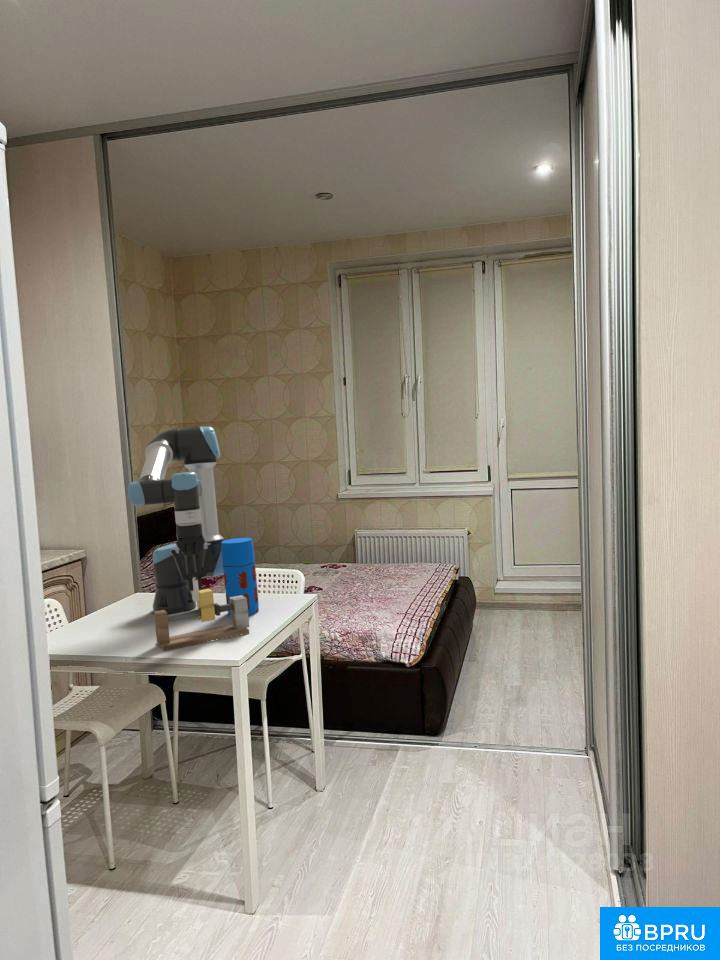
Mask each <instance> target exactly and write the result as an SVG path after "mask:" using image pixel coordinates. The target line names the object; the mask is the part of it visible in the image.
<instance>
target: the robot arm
mask: <svg viewBox="0 0 720 960" xmlns="http://www.w3.org/2000/svg"><path fill="white" fill-rule="evenodd" d="M144 456H145V460H144V465H143V467H142V471H141V472H140V477H139V480H136V481H132V482H130V483H128V487H127V494H128V500H129V503H130V505H131V506H135V507H136V506H142V507H144V506H152V505H160V504H171V503H172V504H174V505H173V506H174V517H175V518H174V519H175V524H176V527H175V528H176V543H171V544H167V545H164V546H160V547H158V548H156V549H154V551H153V553H152V564H153V572H154V573H153V574H154V581H155V582H154V583H155V594H154V599H153V603H152V612H153V613H154V612H155V611H161V610H165V611H166V612H167V615H171V614H176V613H181V612H187V611H192V610H194V609H195V608H197V601H200V598H199V590H202V587H203V586H202V578H209V577H210V578H211V577H212V578H215V577H218V576H224V571H223V561H222V550H221V542H222V541H225V539H224V537H223V536H222V535H221V534H220V532H219V522H218V521H219V520H218V510H217V498H216V489H215V488H216V487H215V486H216V485H215V477H214V467H215V466H216V465H217V463H218V462H217V461H218V460H217V459H219V458H221V451H220V446H219V441H218V437H217V434H216V432H215V429H214V428H213V427H212V426H196V427H192V426H191V427H183V428H170V429H167V430H164V431H162V432H161V433H159V434H157V435H155V436H154V437H153V438H152V439H151V440H150V441H149V442H148V443H147V446H146V448H145V451H144ZM181 461H182V462H183V466H184V467H185V468H186V469H187V470H188V471H187V472H184V471H183V472H177V473H173V474H172V475H171V478H165V477H166V474H167V469H168V467H169V464H171V463H172V462H181Z"/></svg>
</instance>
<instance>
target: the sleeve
mask: <svg viewBox="0 0 720 960" xmlns="http://www.w3.org/2000/svg"><path fill="white" fill-rule="evenodd" d="M199 598H200V601H197V602H196V607H197V610H198V609H201V616H199V617H198V620H201V623H205V622H212V621H215V620H216V615H215V609H214V604H215V602H214V600H215V599H214V590H211V589H210V588H205V589H199Z"/></svg>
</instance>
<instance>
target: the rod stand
mask: <svg viewBox="0 0 720 960" xmlns="http://www.w3.org/2000/svg"><path fill="white" fill-rule="evenodd" d="M214 609H215V616H217V617H219V616H221V613H225V612H228V611H231V616H230V617H231V624H227V625H222V626H217V627H211V628H207V629H202V630H197V631H191V632H185V633H181V634H175V635H172V636H170V627H169V623H173V622H176V621H183V620H188V619H193V618H194V619H195V618H199V616H201V609H198V608H197V609H191V610H188V611H185V612H180V613H173V614H167V612H166V611H165V610H161V611H155V612H153V615H154V625H155V633H156V634H155V635H156V644H157V645H158V646H159V647H160V648H161V650H163V651H171V650H175V649H174V648H176V649H179V648H178V647H181V648H184V647H183V646H185V647H190V646H194V645H193V644H195V645H198V643H200V644H204V643H203V642H205V643H208V642H207V641H210V642H212V641H211V640H215V641H217V640H216V639H219V640H223V639H222V638H224V639H227V638H226V637H229V638H231V637H230V636H234V637H237V636H236V635H239V636H242V635H241V634H244V635H247V634H250V629H249V628H250V619H249V615H248V606H247V598H246V597H244V596H242V595H241V596H235V597H230V604H227V603H225V604H219V603H215V602H214ZM189 645H190V646H189Z"/></svg>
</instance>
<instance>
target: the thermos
mask: <svg viewBox="0 0 720 960" xmlns="http://www.w3.org/2000/svg"><path fill="white" fill-rule="evenodd" d="M221 550H222V561H223V571H224V575H223V581H224V591H225V601H226V603H225V604H230V597H235V596H241V595H242V596H244V597H246V598H247V606H248V616H252V615H254V614H257V613H259V611H260V610H259V608H260V606H259V605H260V604H259V593H258V591H259V590H258V583H257V582H258V581H257V572H256V570H257V569H256V561H255V559H256V558H255V549H254V541H253V538H252V537H240V538H239V537H238V538H230V539H224V541H222V542H221ZM227 614H228V616H229V615H230V617H231V611H227Z"/></svg>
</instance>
